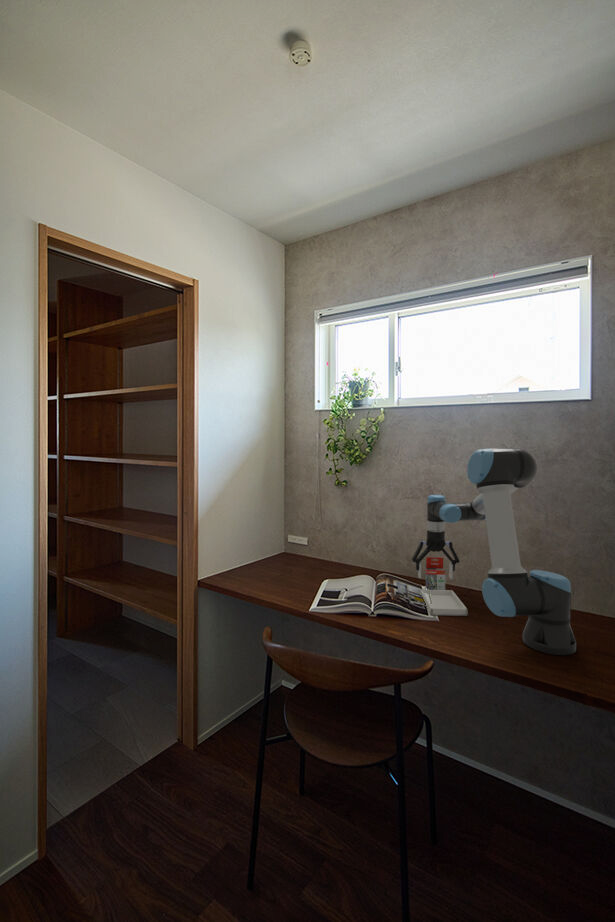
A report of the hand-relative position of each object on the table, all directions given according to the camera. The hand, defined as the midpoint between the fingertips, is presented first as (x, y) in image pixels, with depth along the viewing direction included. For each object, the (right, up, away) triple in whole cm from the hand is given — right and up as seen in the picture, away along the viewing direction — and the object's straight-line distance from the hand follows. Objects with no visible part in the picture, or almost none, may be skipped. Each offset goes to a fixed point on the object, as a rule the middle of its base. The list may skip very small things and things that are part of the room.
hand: (435, 577), depth 192 cm
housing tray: (-2, -6, -17) cm, 18 cm away
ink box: (0, -6, 0) cm, 6 cm away
